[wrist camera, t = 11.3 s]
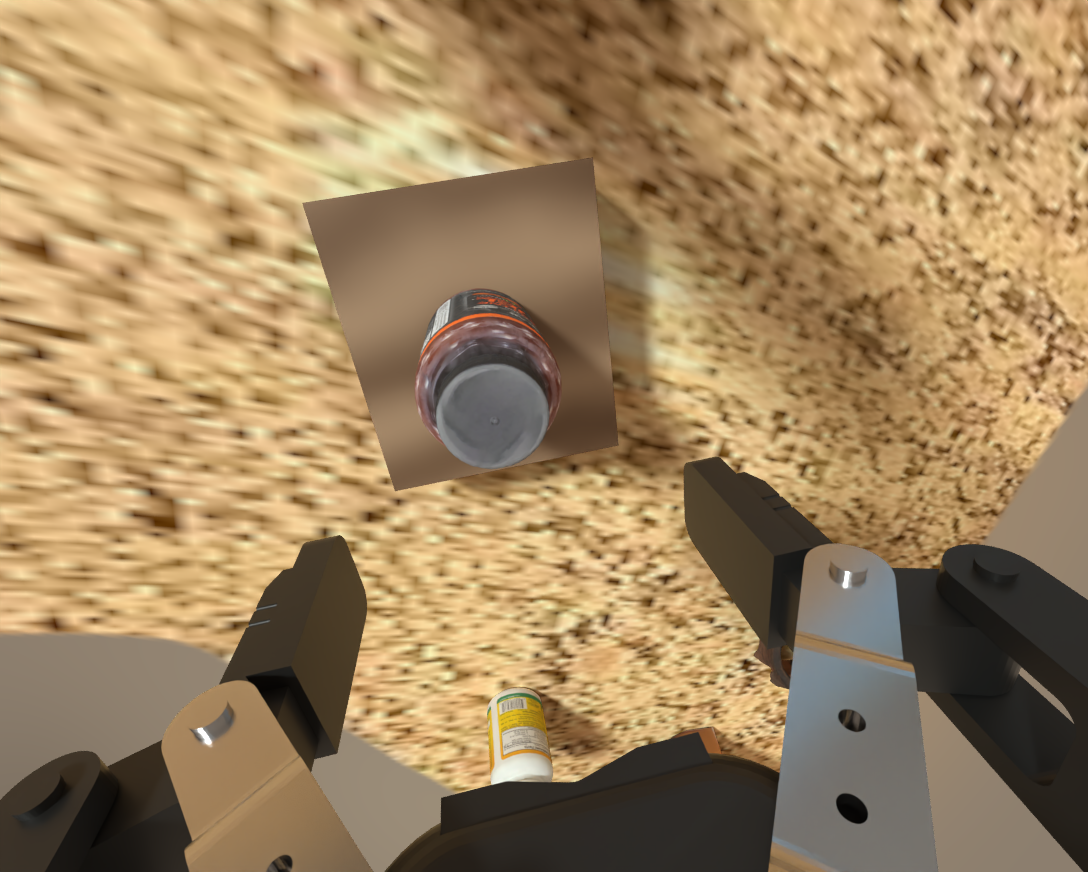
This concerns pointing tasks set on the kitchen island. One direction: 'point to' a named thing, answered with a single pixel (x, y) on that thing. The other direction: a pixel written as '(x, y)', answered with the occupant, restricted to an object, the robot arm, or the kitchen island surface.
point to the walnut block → (462, 264)
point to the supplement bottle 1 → (486, 379)
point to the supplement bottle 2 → (518, 738)
